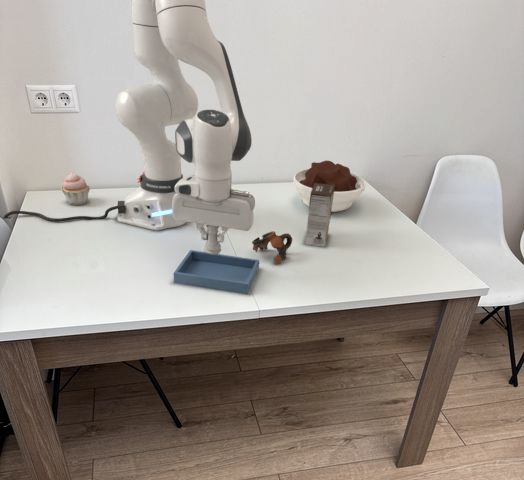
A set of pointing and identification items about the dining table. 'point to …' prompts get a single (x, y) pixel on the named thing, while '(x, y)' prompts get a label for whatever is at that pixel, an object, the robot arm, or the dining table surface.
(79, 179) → the cupcake
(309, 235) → the coffee box
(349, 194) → the bowl of brown lumps
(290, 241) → the broken clay pot
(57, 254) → the dining table surface
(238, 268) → the tray
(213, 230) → the rook chess piece
